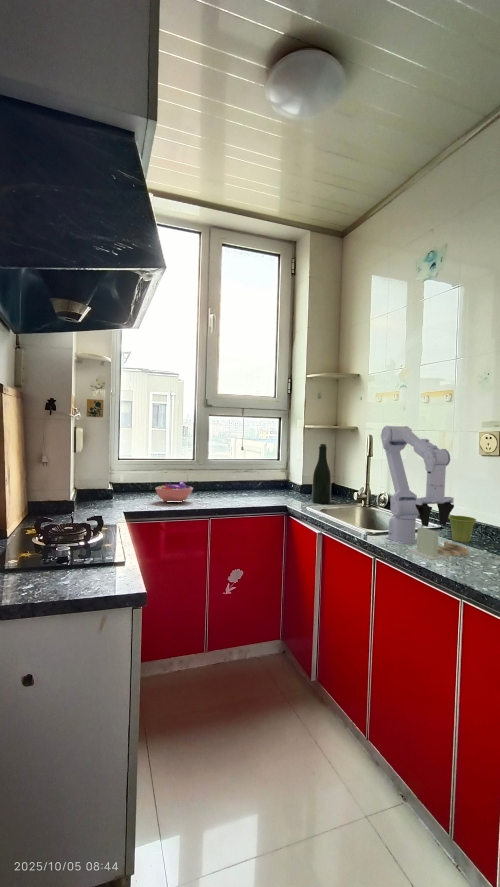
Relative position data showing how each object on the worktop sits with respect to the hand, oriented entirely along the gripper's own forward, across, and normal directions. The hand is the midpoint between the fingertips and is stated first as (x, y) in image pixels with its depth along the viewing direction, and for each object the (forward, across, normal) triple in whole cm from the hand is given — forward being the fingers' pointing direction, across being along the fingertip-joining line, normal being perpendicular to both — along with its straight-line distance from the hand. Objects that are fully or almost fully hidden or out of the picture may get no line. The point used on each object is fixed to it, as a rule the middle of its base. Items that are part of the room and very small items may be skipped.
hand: (433, 525), depth 143 cm
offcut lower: (+10, +3, -1) cm, 11 cm away
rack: (+10, +7, -1) cm, 12 cm away
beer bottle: (+10, +14, +97) cm, 99 cm away
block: (+9, -4, -1) cm, 10 cm away
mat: (+10, -4, -1) cm, 10 cm away
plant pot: (+10, +24, +10) cm, 28 cm away
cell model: (+10, -65, +116) cm, 133 cm away
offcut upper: (+9, +3, -1) cm, 10 cm away
